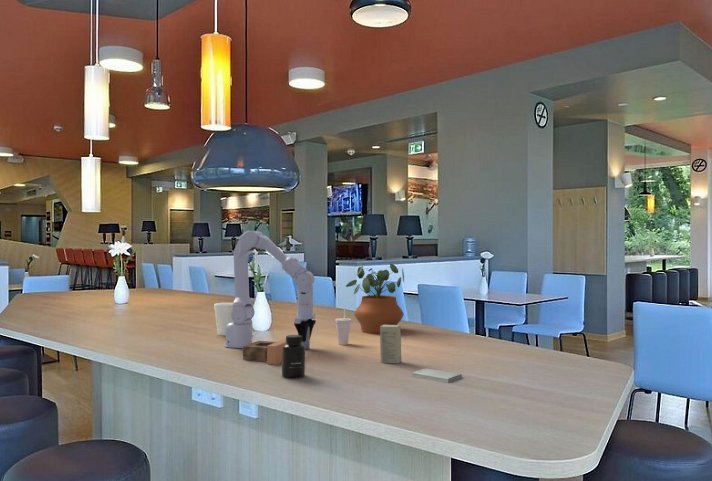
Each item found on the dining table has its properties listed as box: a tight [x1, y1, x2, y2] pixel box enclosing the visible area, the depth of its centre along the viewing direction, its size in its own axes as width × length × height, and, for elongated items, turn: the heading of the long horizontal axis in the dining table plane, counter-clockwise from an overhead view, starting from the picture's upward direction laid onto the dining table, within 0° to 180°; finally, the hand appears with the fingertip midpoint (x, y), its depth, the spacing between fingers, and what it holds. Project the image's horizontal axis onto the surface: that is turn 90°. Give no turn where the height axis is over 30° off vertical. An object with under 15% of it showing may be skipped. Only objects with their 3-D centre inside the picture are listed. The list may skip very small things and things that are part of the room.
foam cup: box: [213, 302, 233, 337], centre depth 243 cm, size 10×9×13 cm
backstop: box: [266, 338, 287, 366], centre depth 193 cm, size 3×18×6 cm, turn 161°
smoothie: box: [334, 307, 352, 346], centre depth 221 cm, size 6×6×14 cm
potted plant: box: [345, 263, 405, 334], centre depth 256 cm, size 23×28×30 cm
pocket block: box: [242, 340, 277, 362], centre depth 195 cm, size 11×11×4 cm
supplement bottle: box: [281, 334, 306, 380], centre depth 169 cm, size 7×7×12 cm
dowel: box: [301, 327, 311, 350], centre depth 211 cm, size 4×4×8 cm
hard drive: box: [411, 368, 463, 383], centre depth 170 cm, size 2×8×12 cm
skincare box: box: [379, 324, 402, 364], centre depth 189 cm, size 6×4×12 cm
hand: (304, 340), depth 211 cm, fingers closed on dowel, 3 cm apart
